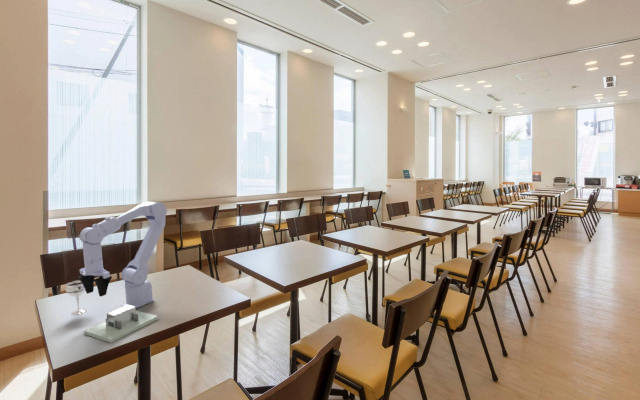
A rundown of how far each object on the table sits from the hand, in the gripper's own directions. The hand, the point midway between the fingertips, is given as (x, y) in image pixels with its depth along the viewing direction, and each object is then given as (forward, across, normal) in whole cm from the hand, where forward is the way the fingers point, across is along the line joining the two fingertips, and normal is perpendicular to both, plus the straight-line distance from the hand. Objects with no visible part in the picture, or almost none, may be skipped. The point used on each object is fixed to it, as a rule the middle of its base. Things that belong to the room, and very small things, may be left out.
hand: (96, 294), depth 125 cm
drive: (+8, +15, -1) cm, 17 cm away
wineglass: (+10, -13, 0) cm, 16 cm away
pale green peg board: (+9, +15, -1) cm, 18 cm away
